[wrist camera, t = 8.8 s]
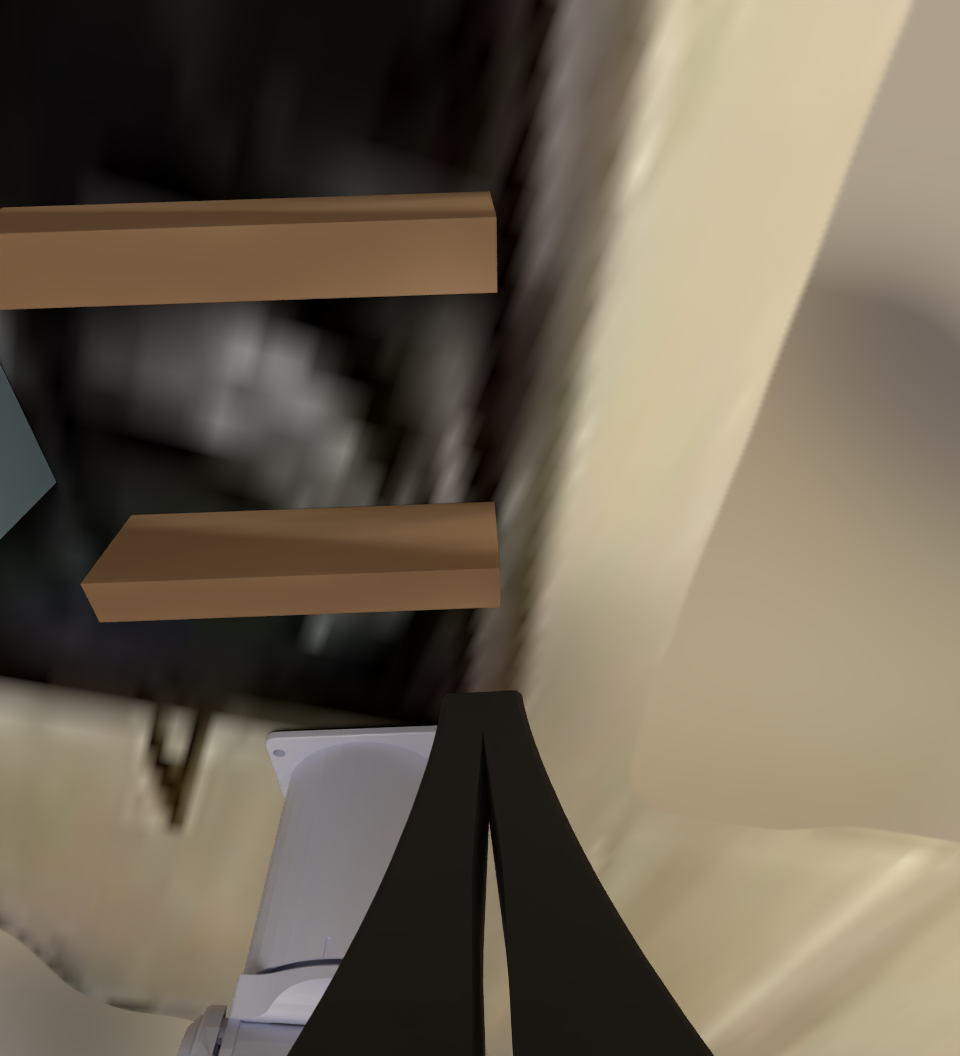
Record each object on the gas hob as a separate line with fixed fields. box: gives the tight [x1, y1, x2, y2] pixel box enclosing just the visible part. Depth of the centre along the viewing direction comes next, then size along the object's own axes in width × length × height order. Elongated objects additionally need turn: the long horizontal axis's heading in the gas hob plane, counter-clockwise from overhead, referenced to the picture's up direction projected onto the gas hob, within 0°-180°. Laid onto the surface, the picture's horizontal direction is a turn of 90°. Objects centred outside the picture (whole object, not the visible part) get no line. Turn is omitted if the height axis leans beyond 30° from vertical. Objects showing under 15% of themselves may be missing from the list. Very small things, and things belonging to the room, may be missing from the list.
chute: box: [0, 191, 500, 622], centre depth 18 cm, size 11×12×4 cm
